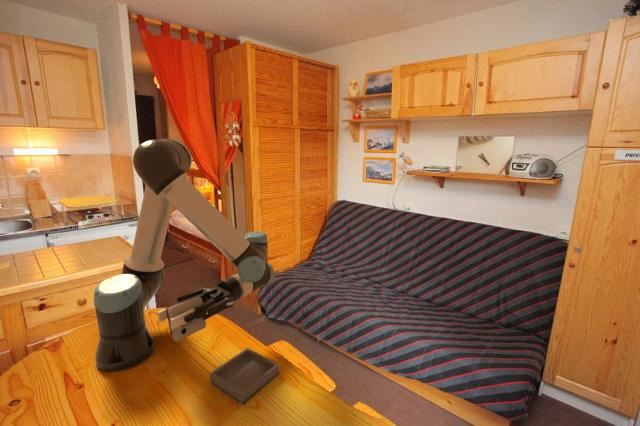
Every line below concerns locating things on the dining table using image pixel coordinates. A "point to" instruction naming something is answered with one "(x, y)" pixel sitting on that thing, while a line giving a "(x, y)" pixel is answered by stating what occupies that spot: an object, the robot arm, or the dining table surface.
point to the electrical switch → (189, 326)
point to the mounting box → (244, 375)
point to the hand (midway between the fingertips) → (165, 320)
